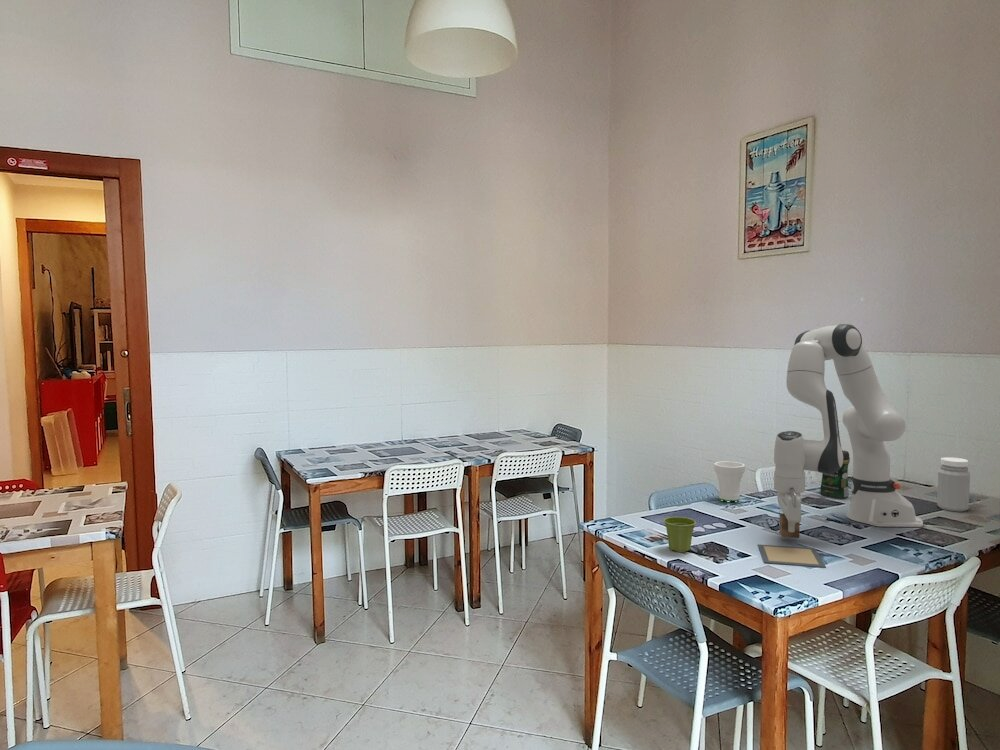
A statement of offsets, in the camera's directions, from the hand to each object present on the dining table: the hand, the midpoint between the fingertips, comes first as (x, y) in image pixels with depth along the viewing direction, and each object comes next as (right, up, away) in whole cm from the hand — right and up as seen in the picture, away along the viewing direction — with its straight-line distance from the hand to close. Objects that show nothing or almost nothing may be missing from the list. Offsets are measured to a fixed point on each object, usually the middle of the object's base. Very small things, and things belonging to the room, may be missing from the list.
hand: (789, 528), depth 207 cm
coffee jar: (+41, 0, +53) cm, 67 cm away
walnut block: (0, -2, 0) cm, 2 cm away
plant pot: (-36, -5, -6) cm, 37 cm away
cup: (-2, -1, +49) cm, 49 cm away
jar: (+74, -1, +34) cm, 81 cm away
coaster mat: (-6, -5, -14) cm, 15 cm away
